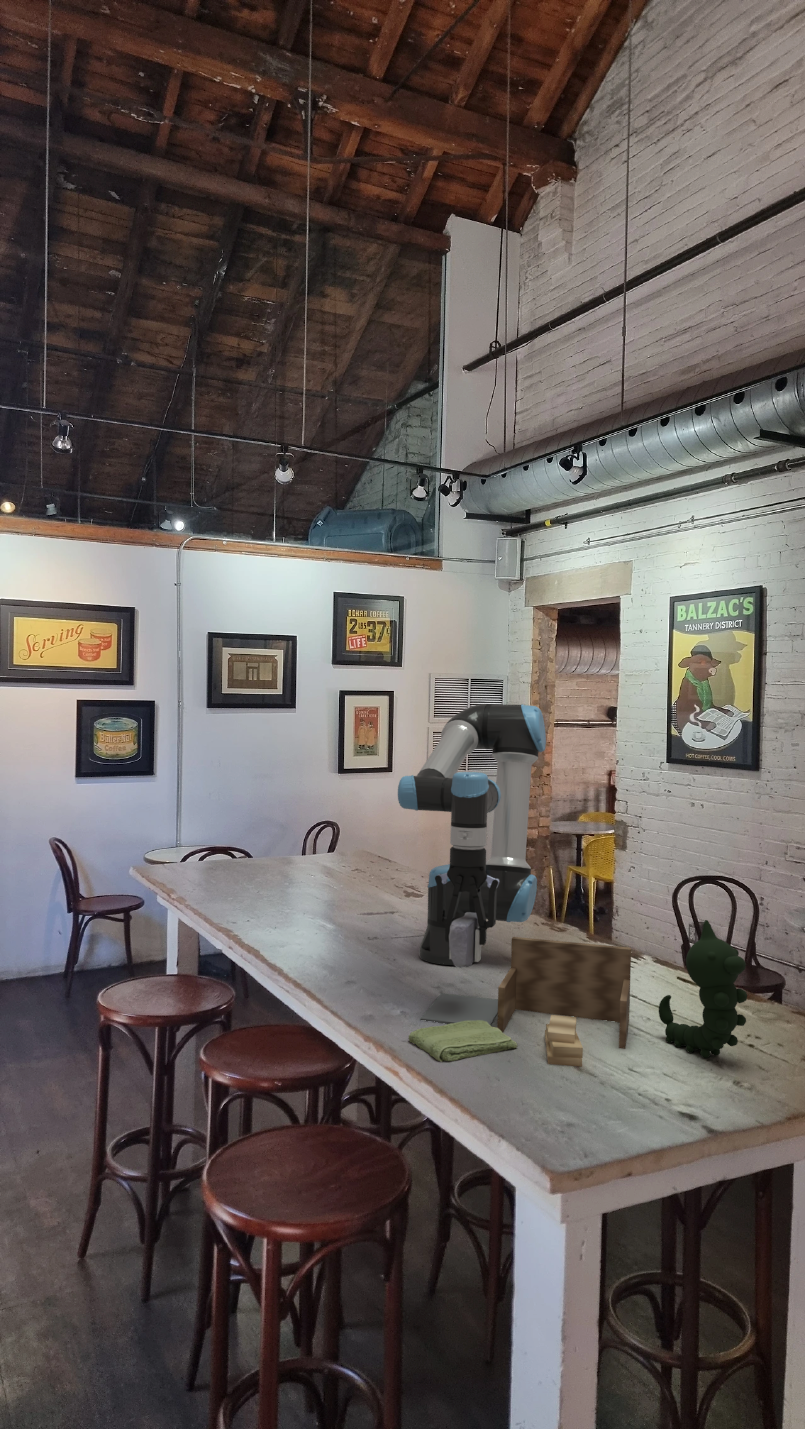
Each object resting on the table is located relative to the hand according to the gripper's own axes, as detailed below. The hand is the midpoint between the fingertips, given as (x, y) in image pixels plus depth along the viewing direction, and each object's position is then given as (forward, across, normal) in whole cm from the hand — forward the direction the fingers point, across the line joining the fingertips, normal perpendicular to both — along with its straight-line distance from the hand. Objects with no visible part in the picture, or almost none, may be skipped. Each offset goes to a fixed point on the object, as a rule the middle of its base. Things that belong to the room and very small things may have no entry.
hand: (465, 958), depth 194 cm
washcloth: (+12, +4, -18) cm, 22 cm away
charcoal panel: (+11, 0, 0) cm, 11 cm away
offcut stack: (+12, +22, -15) cm, 29 cm away
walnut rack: (+11, +21, -3) cm, 24 cm away
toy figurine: (+12, +46, -6) cm, 48 cm away
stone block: (+1, +2, 0) cm, 2 cm away
